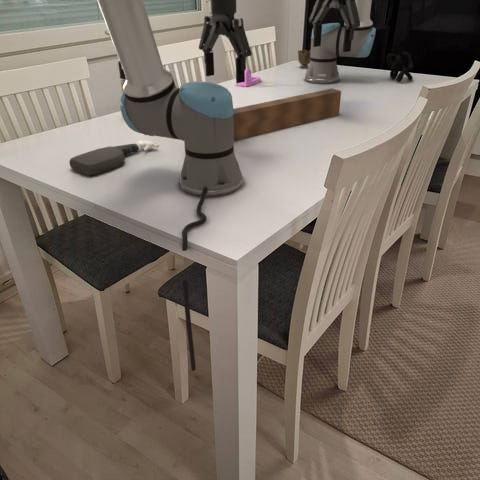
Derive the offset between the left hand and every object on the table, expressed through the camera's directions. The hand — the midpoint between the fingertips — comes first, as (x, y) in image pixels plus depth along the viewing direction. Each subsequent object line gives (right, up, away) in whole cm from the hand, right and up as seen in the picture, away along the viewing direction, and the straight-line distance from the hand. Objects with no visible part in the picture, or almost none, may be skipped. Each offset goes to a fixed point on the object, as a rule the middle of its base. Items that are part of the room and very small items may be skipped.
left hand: (224, 78), depth 133 cm
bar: (+17, -11, +14) cm, 25 cm away
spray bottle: (-30, -25, -8) cm, 40 cm away
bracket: (+9, +23, +68) cm, 72 cm away
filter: (-33, -4, +26) cm, 43 cm away
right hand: (+34, +14, +13) cm, 39 cm away
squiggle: (+77, +24, +68) cm, 105 cm away
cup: (+37, +40, +95) cm, 110 cm away
